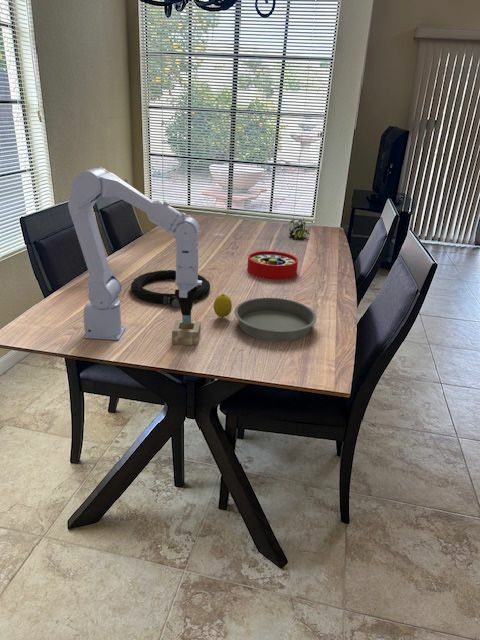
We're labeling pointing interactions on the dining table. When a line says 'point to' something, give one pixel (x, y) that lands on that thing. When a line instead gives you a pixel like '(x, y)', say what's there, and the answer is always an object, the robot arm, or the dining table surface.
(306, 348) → the dining table surface
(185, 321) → the peg
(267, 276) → the toy clock
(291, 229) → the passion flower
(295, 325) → the cake pan
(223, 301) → the lemon
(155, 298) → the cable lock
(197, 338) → the beige socket block
